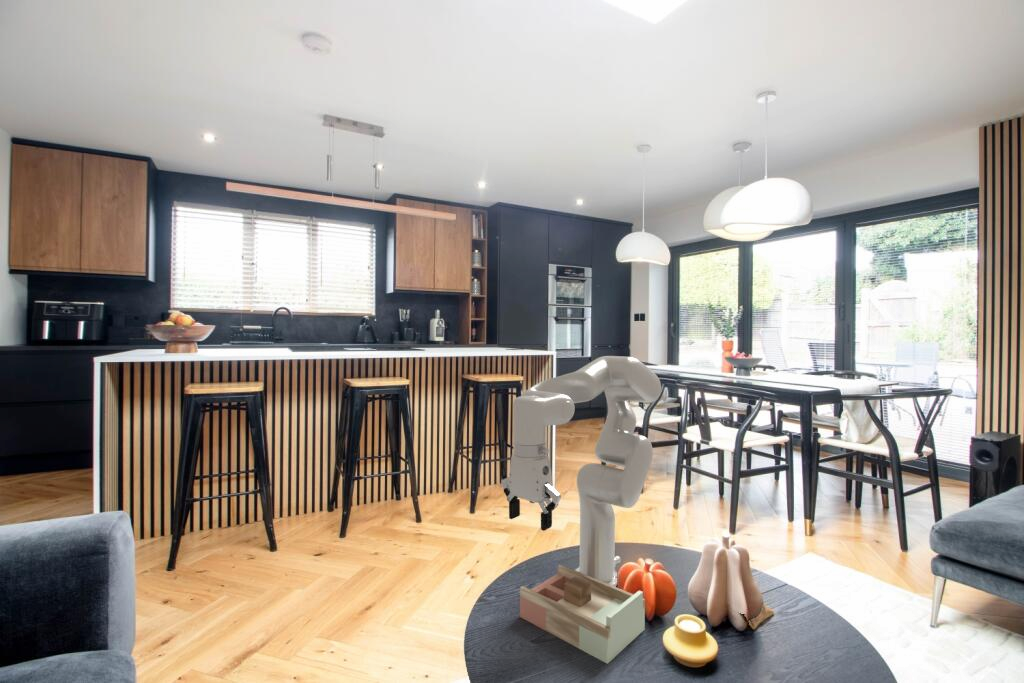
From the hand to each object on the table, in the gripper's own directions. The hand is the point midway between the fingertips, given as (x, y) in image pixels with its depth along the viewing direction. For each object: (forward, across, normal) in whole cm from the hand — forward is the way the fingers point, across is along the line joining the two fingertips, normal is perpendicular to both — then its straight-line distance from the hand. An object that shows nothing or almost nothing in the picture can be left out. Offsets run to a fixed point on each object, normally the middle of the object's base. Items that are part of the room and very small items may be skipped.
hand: (530, 522), depth 112 cm
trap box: (+24, -9, -8) cm, 26 cm away
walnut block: (+19, -8, -8) cm, 22 cm away
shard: (+25, -38, -40) cm, 61 cm away
